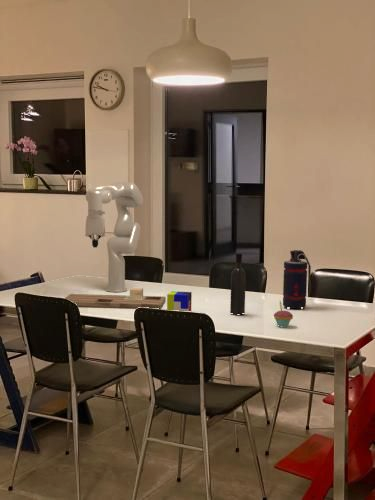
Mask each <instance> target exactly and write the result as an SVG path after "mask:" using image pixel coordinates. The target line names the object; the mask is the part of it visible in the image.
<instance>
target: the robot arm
mask: <svg viewBox="0 0 375 500" xmlns="http://www.w3.org/2000/svg"><path fill="white" fill-rule="evenodd" d="M85 200H86V201H87V215H86V219H85V233H84V234H85V237H87V238H90V240H91V245H92V248H98V246H99V240H100V239H101V238H104V237H106V224H105V216H104V215H105V214H106V212H105V211H103V204H104V205H105V204H110V203H111V201H113V200H114V201H115V203H114V204H115V206H116V211H117V218H116V221H115V225H114V227H113V235H114V236H111V237H109V238H108V239H107V242H106V248H107V249H106V250H107V257H108V267H107V268H108V270H107V271H108V273H107V274H108V283H107V284H108V286H107V287H106V288H105V292H109V293H123V292H128V288H127V287H125V278H126V275H125V274H126V268H125V267H126V261H125V258H124V256H123V255H133V254H135V253H136V251H137V249H138V244H139V241H140V238H141V231H142V227H141V225H140V224H139V222H136V221H132V220H133V216H132V214H131V211H129V209H128V208H133V209H135V208H136V209H137V208H141V207H142V206H143V204H144V196H143V194H142V192H141V191H140V189H139V187H138V186H137V185H136V184H135V183H134V182H131V181H129V182H127V181H126V182H124V181H120V182H118V181H117V182H116V183H112V184H110V185H103V186H96V187H92V188H91V189H90V188H89V189H88V190H87V191H86V193H85ZM95 235H96V236H95Z"/></svg>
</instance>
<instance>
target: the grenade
mask: <svg viewBox="0 0 375 500" xmlns="http://www.w3.org/2000/svg"><path fill="white" fill-rule="evenodd" d="M289 254H290V259H289V260H286V261H284V262H283V268H284V269H283V285H282V286H283V287H282V290H283V291H282V292H283V293H282V306H283V307H284V308H286V307H290V308H291V309H300V308H301V307H304V308H306V307H307V304H306V303H307V298H306V297H307V292H308V293H309V294H311V286H312V285H311V283H312V282H311V280H312V279H311V277H312V276H311V274H312V273H311V271H312V270H311V269H312V266H311V264H310V261H309V259H308V257H307V256H306V253H304V251H303V250H302V249H299V250H297V249H293V250H290V251H289ZM307 278H308V279H307Z"/></svg>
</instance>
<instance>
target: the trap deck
mask: <svg viewBox="0 0 375 500" xmlns="http://www.w3.org/2000/svg"><path fill="white" fill-rule="evenodd" d="M64 298H65V299H69V300H70V301H72V302H74V303H76V304H77V306H78V307H77V308H94V309H95V308H97V309H98V308H99V309H101V308H103V309H128V310H129V309H133V310H134V309H135V310H137V309H136V308H138V307H149V308H159V309H158V310H162V309H163V307H164V305H165V303H166V302H167V301H166V299H167V296H161V295H160V296H157V295H156V296H154V295H143V298H142V299H130V295H115V294H114V295H113V294H91V293H90V294H86V293H83V294H82V293H80V294H79V293H70V294H68V295H67V296H65V297H64Z"/></svg>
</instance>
